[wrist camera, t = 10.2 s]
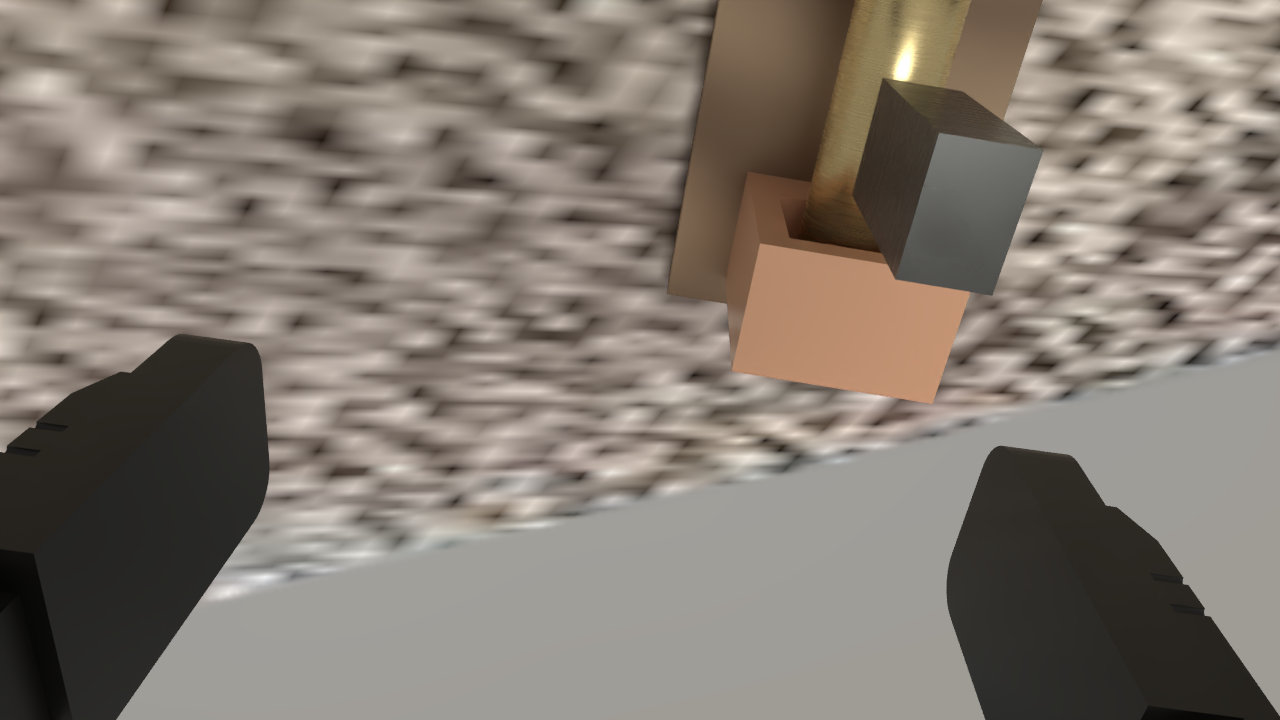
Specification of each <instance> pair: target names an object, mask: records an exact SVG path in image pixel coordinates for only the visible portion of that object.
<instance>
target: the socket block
mask: <svg viewBox="0 0 1280 720" xmlns="http://www.w3.org/2000/svg"><path fill="white" fill-rule="evenodd" d="M810 185H811V182H807V181H801V180H795V179H789V178H783V177H777V176H771V175H765V174H759V173H753V172H747V177H746V182H745V187H744V192H743V196H742V201H741V206H740V211H739V216H738V220H737V225H736V230H735V235H734V240H733V244H732V249H731V254H730V259H729V264H728V268H727V273H726V292H727V307H728V322H729V338H730V353H731V368H732V371H734V372H740V373H746V374H752V375H758V376H764V377H771V378H777V379H783V380H789V381H795V382H801V383H807V384H814V385H820V386H826V387H832V388H838V389H844V390H850V391H857V392H863V393H869V394H875V395H881V396H887V397H893V398H900V399H906V400H912V401H918V402H924V403H930V404H932V403H933V400H934V398H935V395H936V392H937V389H938V386H939V383H940V380H941V377H942V374H943V371H944V368H945V365H946V362H947V359H948V356H949V353H950V350H951V348H952V345H953V342H954V339H955V336H956V333H957V330H958V327H959V324H960V321H961V318H962V315H963V312H964V309H965V306H966V303H967V301H968V298H969V295H970V292H968V291H962V290H956V289H949V288H943V287H937V286H931V285H925V284H919V283H913V282H907V281H901V280H895V278H894V276H893V274H892V272H891V270H890V268H889V266H888V264H887V263H886V261H885V259H884V257H883V255H882V253H877V252H871V251H865V250H859V249H853V248H847V247H841V246H834V245H828V244H822V243H816V242H810V241H804V240H798V235H799V231H800V227H801V222H802V218H803V214H804V210H805V206H806V202H807V198H808V193H809V189H810Z"/></svg>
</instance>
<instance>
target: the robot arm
mask: <svg viewBox="0 0 1280 720" xmlns="http://www.w3.org/2000/svg"><path fill="white" fill-rule="evenodd" d="M268 480H269V451H268V438H267V425H266V413H265V400H264V388H263V375H262V365H261V359H260V355H259V353H258V350H257V349H256V347H255V346H254V345H253V344H251V343H246V342H239V341H231V340H224V339H216V338H209V337H201V336H194V335H187V334H178V335H176V336H174V337H172V338H171V339H170V340H169V341H167V342H166V343H165V344H164V345H163V346H162V347H160V348H159V349H158V350H157V351H156V352H155V353H153V354H152V355H151V356H150V357H149V358H148V359H147V360H145V361H144V362H143V363H142V364H141V365H140V366H138V367H137V368H136V369H135V370H134V371H133V372H131V373H127V372H119V373H117V374H115V375H112V376H110V377H108V378H105V379H103V380H101V381H99V382H96V383H94V384H92V385H89V386H87V387H85V388H83V389H80V390H78V391H76V392H73V393H71V394H70V395H69V396H68V397H66V398H65V399H64V400H63V401H62V402H60V403H59V404H58V405H57V406H55V407H54V408H53V409H52V410H50V411H49V412H48V413H47V414H46V415H44V416H43V417H42V418H41V419H39V420H38V421H37V425H36V427H35V428H28V429H27V430H26V431H25V432H23V433H22V434H21V435H20V436H18V437H17V438H16V439H15V440H14V441H12V442H11V443H10V444H9V445H7V450H6V452H5V453H2V452H0V720H116V719H117V718H118V716H119V715H120V713H121V712H122V710H123V709H124V708H125V706H126V705H127V703H128V702H129V700H130V699H131V697H132V696H133V695H134V693H135V692H136V690H137V689H138V688H139V686H140V685H141V683H142V682H143V680H144V679H145V677H146V676H147V675H148V673H149V672H150V670H151V669H152V667H153V666H154V665H155V663H156V662H157V660H158V658H159V657H160V656H161V655H162V653H163V652H164V650H165V649H166V647H167V646H168V644H169V643H170V642H171V640H172V639H173V637H174V636H175V634H176V633H177V631H178V630H179V629H180V627H181V626H182V624H183V623H184V621H185V620H186V619H187V617H188V616H189V614H190V613H191V612H192V610H193V609H194V607H195V606H196V604H197V603H198V601H199V600H200V599H201V597H202V596H203V594H204V593H205V591H206V590H207V589H208V587H209V586H210V584H211V583H212V581H213V580H214V579H215V577H216V576H217V574H218V573H219V571H220V570H221V568H222V567H223V566H224V564H225V563H226V561H227V560H228V558H229V557H230V556H231V554H232V553H233V551H234V550H235V548H236V547H237V546H238V544H239V543H240V541H241V540H242V538H243V537H244V535H245V534H246V533H247V531H248V530H249V528H250V527H251V525H252V524H253V523H254V521H255V519H256V518H257V516H258V514H259V512H260V510H261V507H262V505H263V501H264V498H265V495H266V491H267V486H268ZM947 604H948V609H949V613H950V617H951V620H952V623H953V626H954V629H955V632H956V635H957V638H958V641H959V644H960V647H961V650H962V653H963V656H964V658H965V661H966V664H967V667H968V670H969V673H970V676H971V679H972V682H973V684H974V688H975V691H976V693H977V697H978V700H979V702H980V705H981V708H982V711H983V714H984V717H985V720H1280V716H1279V715H1278V713H1277V712H1276V710H1275V709H1274V707H1273V706H1272V705H1271V703H1270V702H1269V700H1268V699H1267V697H1266V696H1265V695H1264V693H1263V692H1262V690H1261V689H1260V687H1259V686H1258V685H1257V683H1256V682H1255V680H1254V679H1253V677H1252V676H1251V674H1250V673H1249V672H1248V670H1247V669H1246V667H1245V666H1244V664H1243V663H1242V662H1241V660H1240V659H1239V657H1238V656H1237V654H1236V653H1235V651H1234V650H1233V649H1232V647H1231V646H1230V644H1229V643H1228V641H1227V640H1226V638H1225V637H1224V636H1223V634H1222V633H1221V631H1220V630H1219V628H1218V627H1217V626H1216V624H1215V623H1214V621H1213V620H1212V618H1211V617H1209V616H1205V615H1204V609H1205V608H1204V607H1203V605H1202V604H1201V603H1200V601H1199V600H1198V598H1197V597H1196V595H1195V594H1194V592H1193V591H1192V590H1191V588H1190V587H1189V586H1188V585H1184V584H1183V577H1182V575H1181V574H1180V572H1179V571H1178V569H1177V568H1176V567H1175V565H1174V564H1173V562H1172V561H1171V559H1170V558H1169V556H1168V555H1167V554H1166V552H1165V551H1164V549H1163V548H1162V546H1161V545H1160V544H1159V542H1158V541H1157V540H1156V539H1155V538H1153V537H1152V536H1151V535H1150V534H1149V533H1147V532H1146V531H1145V530H1144V529H1143V528H1141V527H1140V526H1139V525H1138V524H1136V523H1135V522H1134V521H1133V520H1132V519H1130V518H1129V517H1128V516H1127V515H1125V514H1124V513H1123V512H1122V511H1121V510H1119V509H1118V508H1117V507H1111V506H1106V505H1105V504H1104V502H1103V501H1102V499H1101V498H1100V496H1099V494H1098V493H1097V491H1096V490H1095V488H1094V487H1093V485H1092V484H1091V483H1090V481H1089V479H1088V478H1087V476H1086V475H1085V473H1084V471H1083V470H1082V468H1081V467H1080V465H1079V464H1078V462H1077V461H1076V460H1075V459H1074V458H1073V457H1072V456H1070V455H1066V454H1058V453H1051V452H1044V451H1036V450H1029V449H1021V448H1014V447H1007V446H998V447H996V448H994V449H993V450H992V451H991V452H990V454H989V455H988V457H987V459H986V461H985V463H984V465H983V468H982V471H981V474H980V476H979V479H978V482H977V485H976V488H975V491H974V493H973V496H972V499H971V502H970V505H969V507H968V511H967V513H966V516H965V519H964V521H963V524H962V527H961V530H960V533H959V536H958V538H957V541H956V544H955V547H954V550H953V552H952V556H951V559H950V563H949V568H948V574H947Z"/></svg>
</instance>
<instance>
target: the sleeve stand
mask: <svg viewBox="0 0 1280 720" xmlns="http://www.w3.org/2000/svg"><path fill="white" fill-rule="evenodd" d="M854 3H855V0H718V4H717V10H716V15H715V21H714V27H713V32H712V38H711V43H710V49H709V55H708V60H707V66H706V71H705V77H704V83H703V88H702V94H701V99H700V105H699V111H698V116H697V122H696V128H695V133H694V139H693V144H692V150H691V156H690V161H689V167H688V172H687V178H686V184H685V189H684V195H683V201H682V206H681V212H680V217H679V223H678V229H677V234H676V240H675V245H674V251H673V257H672V262H671V268H670V273H669V279H668V291H667V294H671V295H677V296H683V297H689V298H695V299H702V300H708V301H714V302H720V303H726V304H727V292H726V273H727V268H728V264H729V259H730V254H731V249H732V244H733V240H734V235H735V230H736V225H737V220H738V216H739V211H740V206H741V201H742V196H743V192H744V187H745V182H746V177H747V172H753V173H759V174H765V175H771V176H777V177H783V178H789V179H795V180H801V181H807V182H811V181H812V177H813V173H814V169H815V164H816V160H817V156H818V152H819V148H820V144H821V140H822V135H823V131H824V127H825V123H826V119H827V115H828V111H829V106H830V102H831V98H832V94H833V90H834V86H835V82H836V77H837V73H838V69H839V65H840V61H841V57H842V53H843V48H844V44H845V40H846V36H847V32H848V28H849V24H850V19H851V15H852V11H853V7H854ZM1041 3H1042V0H971V3H970V7H969V10H968V13H967V17H966V20H965V24H964V27H963V30H962V34H961V37H960V40H959V44H958V47H957V51H956V54H955V57H954V61H953V64H952V68H951V71H950V74H949V78H948V81H947V85H946V88H947V89H953V90H959V91H963V92H964V93H966V94H967V95H969V96H970V97H971V98H973V99H974V100H975V101H977V102H978V103H980V104H981V105H982V106H984V107H985V108H986V109H988V110H989V111H991V112H992V113H993V114H995V115H996V116H997V117H999V118H1000V119H1001V120H1003V119H1004V116H1005V113H1006V110H1007V107H1008V104H1009V101H1010V98H1011V95H1012V92H1013V89H1014V86H1015V83H1016V79H1017V76H1018V73H1019V70H1020V67H1021V64H1022V61H1023V58H1024V55H1025V52H1026V49H1027V46H1028V43H1029V40H1030V37H1031V34H1032V31H1033V28H1034V25H1035V22H1036V18H1037V15H1038V12H1039V9H1040V6H1041Z"/></svg>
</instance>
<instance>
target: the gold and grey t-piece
mask: <svg viewBox="0 0 1280 720" xmlns="http://www.w3.org/2000/svg"><path fill="white" fill-rule="evenodd" d="M970 3H971V0H855V3H854V7H853V11H852V15H851V19H850V24H849V28H848V32H847V36H846V40H845V44H844V48H843V53H842V57H841V61H840V65H839V69H838V73H837V77H836V82H835V86H834V90H833V94H832V98H831V102H830V106H829V111H828V115H827V119H826V123H825V127H824V131H823V135H822V140H821V144H820V148H819V152H818V156H817V160H816V164H815V169H814V173H813V177H812V181H811V185H810V189H809V193H808V198H807V202H806V206H805V210H804V214H803V218H802V222H801V227H800V231H799V235H798V240H804V241H810V242H816V243H822V244H828V245H834V246H841V247H847V248H853V249H859V250H865V251H871V252H877V253H882V255H883V257H884V259H885V261H886V263H887V264H888V266H889V268H890V270H891V272H892V274H893V276H894V278H895V280H901V281H907V282H913V283H919V284H925V285H931V286H937V287H943V288H949V289H956V290H962V291H968V292H974V293H980V294H986V295H993V292H994V289H995V286H996V283H997V280H998V278H999V275H1000V272H1001V269H1002V266H1003V263H1004V261H1005V258H1006V255H1007V252H1008V249H1009V246H1010V244H1011V241H1012V238H1013V235H1014V232H1015V229H1016V227H1017V224H1018V221H1019V218H1020V215H1021V212H1022V210H1023V207H1024V204H1025V201H1026V198H1027V195H1028V193H1029V190H1030V187H1031V184H1032V181H1033V178H1034V175H1035V173H1036V170H1037V167H1038V164H1039V161H1040V158H1041V156H1042V153H1043V149H1041V148H1040V147H1039V146H1037V145H1036V144H1034V143H1033V142H1032V141H1030V140H1029V139H1028V138H1026V137H1025V136H1023V135H1022V134H1021V133H1019V132H1018V131H1017V130H1015V129H1014V128H1012V127H1011V126H1010V125H1008V124H1007V123H1006V122H1004V121H1003V120H1001V119H1000V118H999V117H997V116H996V115H995V114H993V113H992V112H991V111H989V110H988V109H986V108H985V107H984V106H982V105H981V104H980V103H978V102H977V101H975V100H974V99H973V98H971V97H970V96H969V95H967V94H966V93H964V92H963V91H959V90H953V89H947V88H946V85H947V81H948V78H949V74H950V71H951V68H952V64H953V61H954V57H955V54H956V51H957V47H958V44H959V40H960V37H961V34H962V30H963V27H964V24H965V20H966V17H967V13H968V10H969V7H970Z"/></svg>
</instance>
